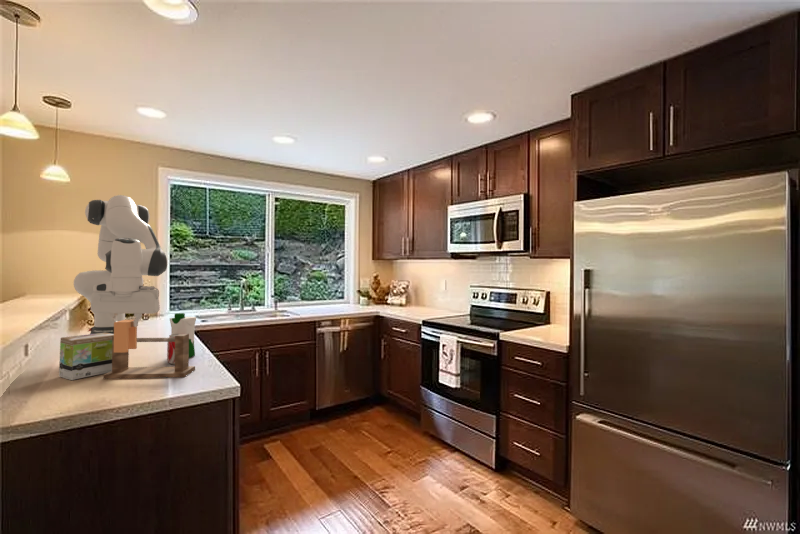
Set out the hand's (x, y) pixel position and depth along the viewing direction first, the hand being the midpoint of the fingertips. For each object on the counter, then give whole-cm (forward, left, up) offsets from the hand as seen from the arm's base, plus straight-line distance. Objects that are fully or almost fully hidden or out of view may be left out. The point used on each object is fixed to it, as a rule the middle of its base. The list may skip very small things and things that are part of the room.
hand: (125, 326), depth 132 cm
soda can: (+2, +34, -21) cm, 40 cm away
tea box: (-23, +19, -21) cm, 36 cm away
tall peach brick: (0, 0, -8) cm, 8 cm away
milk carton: (0, +45, -21) cm, 50 cm away
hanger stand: (0, +17, -21) cm, 27 cm away
